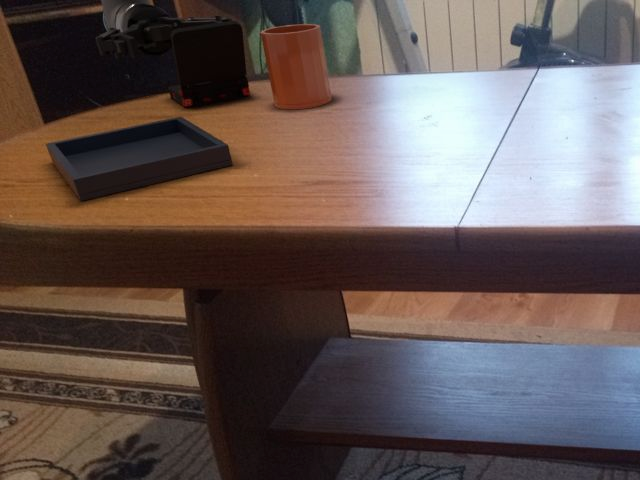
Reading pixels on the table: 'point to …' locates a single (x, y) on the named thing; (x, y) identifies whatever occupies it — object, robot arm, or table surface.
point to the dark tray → (136, 156)
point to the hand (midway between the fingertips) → (184, 41)
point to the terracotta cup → (296, 66)
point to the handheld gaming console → (209, 64)
